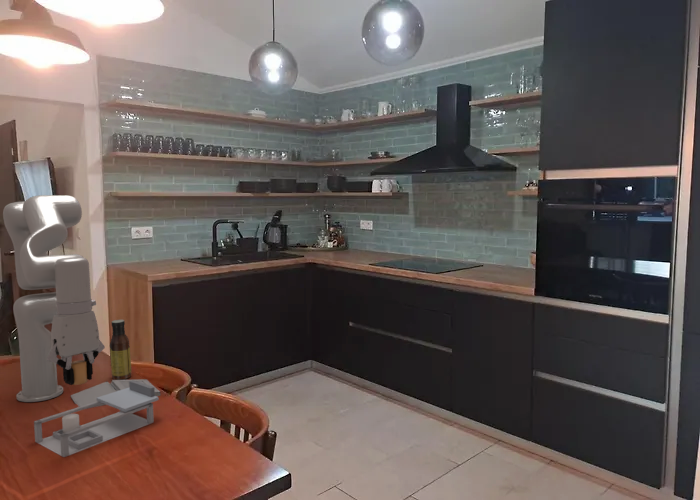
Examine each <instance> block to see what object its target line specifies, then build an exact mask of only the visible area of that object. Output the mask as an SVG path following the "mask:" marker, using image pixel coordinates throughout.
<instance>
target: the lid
mask: <svg viewBox="0 0 700 500" xmlns="http://www.w3.org/2000/svg"><path fill="white" fill-rule="evenodd" d="M131 380H132V381H129V388H126V389H122V390H119V391H116V392H113V393H110V394H107V395H103V396H100V397H97V398H96V399H97V401H99V402H101V403H104V404H106V405H105V406H109V407H112V408H114V409H117V410H119V411H120V410H121V411H124V412H126V411H129V410H132V409H135V408H137V407H140V406H143V405H146V404H149V403H154V402H157V401H159V400H160V399H159V396H155V389H154V387H155V386H154V387H152V386H149V385H146V384H143V383H140V382H137V381H134V380H135V379H131Z"/></svg>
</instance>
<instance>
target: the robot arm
mask: <svg viewBox="0 0 700 500" xmlns="http://www.w3.org/2000/svg"><path fill="white" fill-rule="evenodd" d="M82 215H83V211H82V206H81V203H80V202H79V201H78V199H77V198H76V197H75V196H72V195H68V194H67V195H65V194H64V195H63V194H61V195H58V194H54V195H51V194H42V195H41V194H40V195H35V196H31V197H28V198H27V199H25V200H24V201H15V202H10V203H8V204H6V205H5V206H4V208H3V212H2V217H3V218H2V219H3V223H4V226H5V229H6V231H7V233H8V235H9V237H10V239H11V242H12V244H13V252H14V265H15V274H16V281H17V284H18V285H17V286H18V287H19V288H20V289H21V290H27V291H28V290H29V291H34V290H35V291H36V290H46V289H55V291H54V292H44V293H43V292H42V293H41V292H40V293H33V294H28V295H24V296H21V297H18V298H17V299H16V300H15V301H14V303H13V317H14V320H15V323H16V327H17V329H16V330H17V335H18V349H19V361H20V377H21V382H20V383H21V390H19V392H18V393H16V400H17V401H19V402H23V403H35V402H42V401H47V400H51V399H53V398H54V399H55V398H57V397H59V396H61V395H62V394H63V392H64V387H63V386H62V385H60V384H58V373H57V371H58V369H57V365H58V366H59V367H60V368H62V373H63V376H62V377H63V381H64V383H65V384H66V385H70V386H74V385H73V384H74V370H73V369H72V368H71V362H73V361H72V360H73V357H74V356H78V355H82V357H83V360H84V361H86V367H87V381H90V380H91V381H92V379H93V374H94V373H93V372H94V369H93V364H94V363H95V359H96V358H97V357H98V355H99V354H100V353H101V352H102V351H103V350H104V349H105V345H104V343H103V342H102V341H101V339H100V332H99V325H98V322H97V316H96V313H95V311H94V310H92V309H93V306H96V305H97V302H96V300H95V299H94V300H92V294H91V277H90V276H91V273H90V263H89V260H88V259H87V258H86V257H84V256H83V255H80V254H77V253H74V254H73V253H72V254H70V253H69V254H56V255H53V254H52V255H48V252H51V251H52V250H53V249H56V248H58V247H60V246H62V245H63V243H64V242H65V241H66V240H67V238H68V235H69V233H68V229H69V228H72V227H74V226H76V225H78V224H79V223H80V222H81V220H82ZM46 325H51V329H50V330H51V331H50V330H49V329H47V327H45V326H46ZM57 356H60V358H58V357H57Z"/></svg>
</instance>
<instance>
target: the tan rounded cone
mask: <svg viewBox="0 0 700 500" xmlns="http://www.w3.org/2000/svg"><path fill="white" fill-rule="evenodd" d="M71 368H72V369H73V370H74V384H73V385H72V386H77V385H78V386H80V385H84V384H86V383H87V382H88V379H87V367H86V361H84V359H83V360H74V361H72V362H71Z"/></svg>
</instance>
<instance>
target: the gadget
mask: <svg viewBox="0 0 700 500" xmlns="http://www.w3.org/2000/svg"><path fill="white" fill-rule="evenodd" d="M132 380H134V381H137V382H140V383H143V384H146V385H149V386H152V387H154V389H155V396H157V397H159V396H161V391H160V390H159V389H158V388H157V387H156V386H154V385H153V383H151V382H150V381H149V380H148V379H145V378H144V379H141V378H140V379H124V380H115V379H112V380H111V382H108V381H104V382H101V383H99V384H96V385H94V386H91V387H89V388H86V389H83V390H80V391H79V392H78V391H77V392H76V393H73V394H71V395H70V398H71V399H72V401H73V403H74V405H77V407H80V406H83V405H86V404H90V403H93V402H96V401H97V399H96V398H97V397H100V396H103V395H107V394H110V393H113V392H116V391H119V390H122V389H126V388H129V381H132ZM102 406H107V405H106V404H104V403H102V404H99V405H96V406H93V407H89V408H86V409H85V410H87V409H91V408H96V407H97V408H98V407H102Z"/></svg>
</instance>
